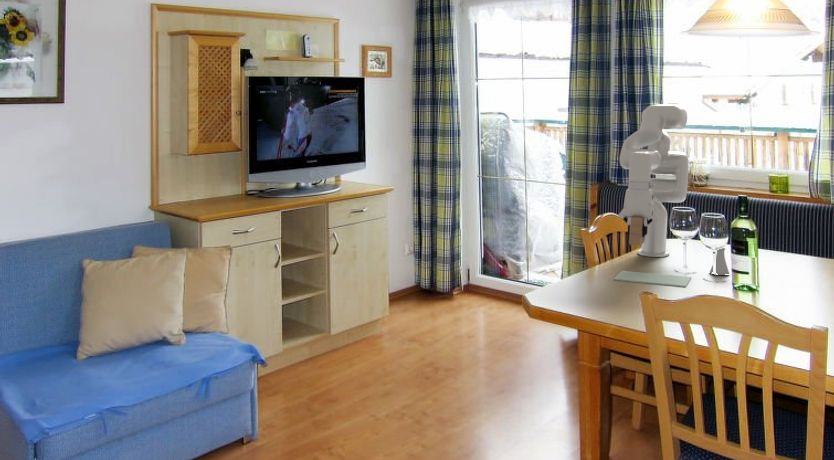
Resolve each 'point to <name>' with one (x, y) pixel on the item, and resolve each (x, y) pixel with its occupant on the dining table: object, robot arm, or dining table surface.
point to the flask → (720, 263)
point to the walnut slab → (636, 231)
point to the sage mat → (653, 278)
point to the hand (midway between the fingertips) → (637, 235)
